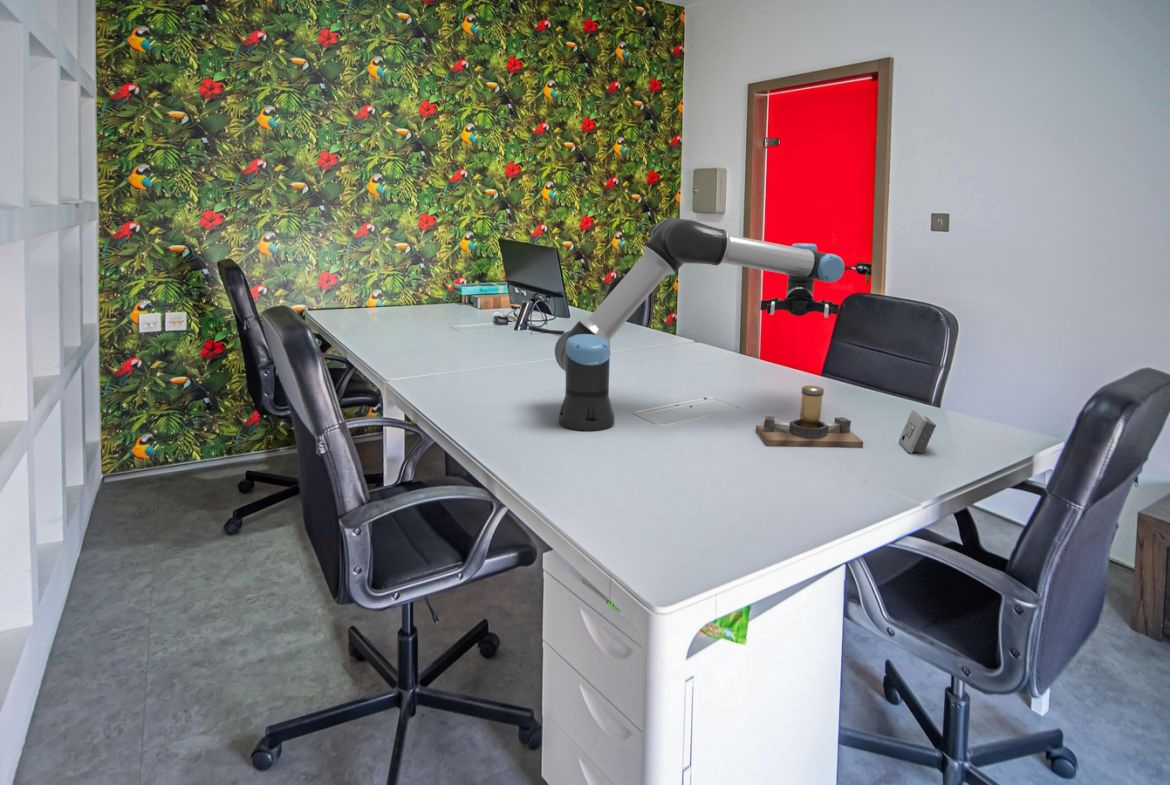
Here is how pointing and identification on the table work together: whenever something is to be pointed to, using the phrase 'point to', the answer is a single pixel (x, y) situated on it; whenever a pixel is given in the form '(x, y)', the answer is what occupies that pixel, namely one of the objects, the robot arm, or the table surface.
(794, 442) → the base
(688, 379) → the table surface
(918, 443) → the electrical switch
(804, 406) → the brass cylinder
